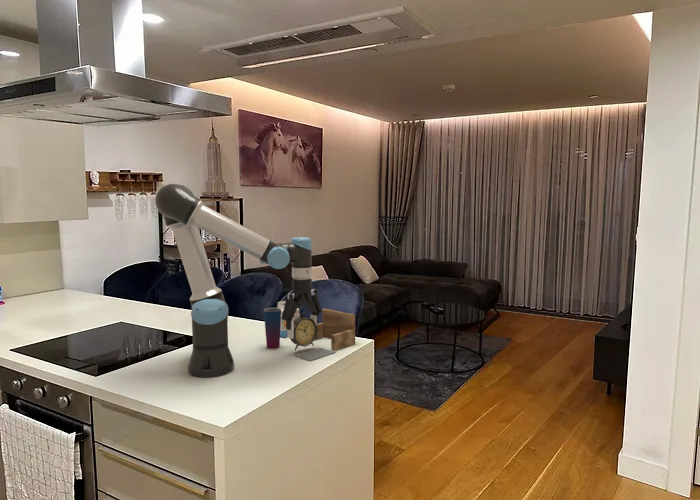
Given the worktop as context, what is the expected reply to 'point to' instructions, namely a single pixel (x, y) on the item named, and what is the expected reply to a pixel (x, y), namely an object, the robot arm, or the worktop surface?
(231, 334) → the worktop surface
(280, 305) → the ink box
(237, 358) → the worktop surface
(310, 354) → the slate pad
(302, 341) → the alarm clock
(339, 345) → the wooden holder
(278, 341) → the cup
